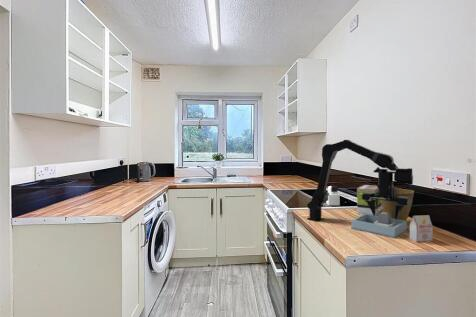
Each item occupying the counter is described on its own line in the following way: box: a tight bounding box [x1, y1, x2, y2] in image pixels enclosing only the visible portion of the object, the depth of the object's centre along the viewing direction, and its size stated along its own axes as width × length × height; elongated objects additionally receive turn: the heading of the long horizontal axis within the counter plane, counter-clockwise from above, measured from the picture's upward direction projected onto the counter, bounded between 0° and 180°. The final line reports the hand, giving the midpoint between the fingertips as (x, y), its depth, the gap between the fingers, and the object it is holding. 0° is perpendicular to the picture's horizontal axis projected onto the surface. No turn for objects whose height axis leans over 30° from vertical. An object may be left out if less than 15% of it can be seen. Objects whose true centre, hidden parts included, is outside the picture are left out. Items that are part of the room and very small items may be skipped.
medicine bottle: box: [325, 185, 341, 206], centre depth 175 cm, size 7×7×12 cm
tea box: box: [356, 184, 383, 216], centre depth 153 cm, size 15×10×15 cm, turn 141°
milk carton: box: [409, 214, 433, 243], centre depth 107 cm, size 4×7×10 cm, turn 96°
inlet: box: [374, 221, 396, 227], centre depth 120 cm, size 7×7×3 cm
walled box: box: [351, 214, 408, 239], centre depth 122 cm, size 16×18×4 cm
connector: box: [377, 210, 391, 225], centre depth 120 cm, size 4×4×7 cm
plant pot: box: [381, 188, 415, 221], centre depth 132 cm, size 15×15×16 cm
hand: (385, 217), depth 120 cm, fingers open, 9 cm apart
